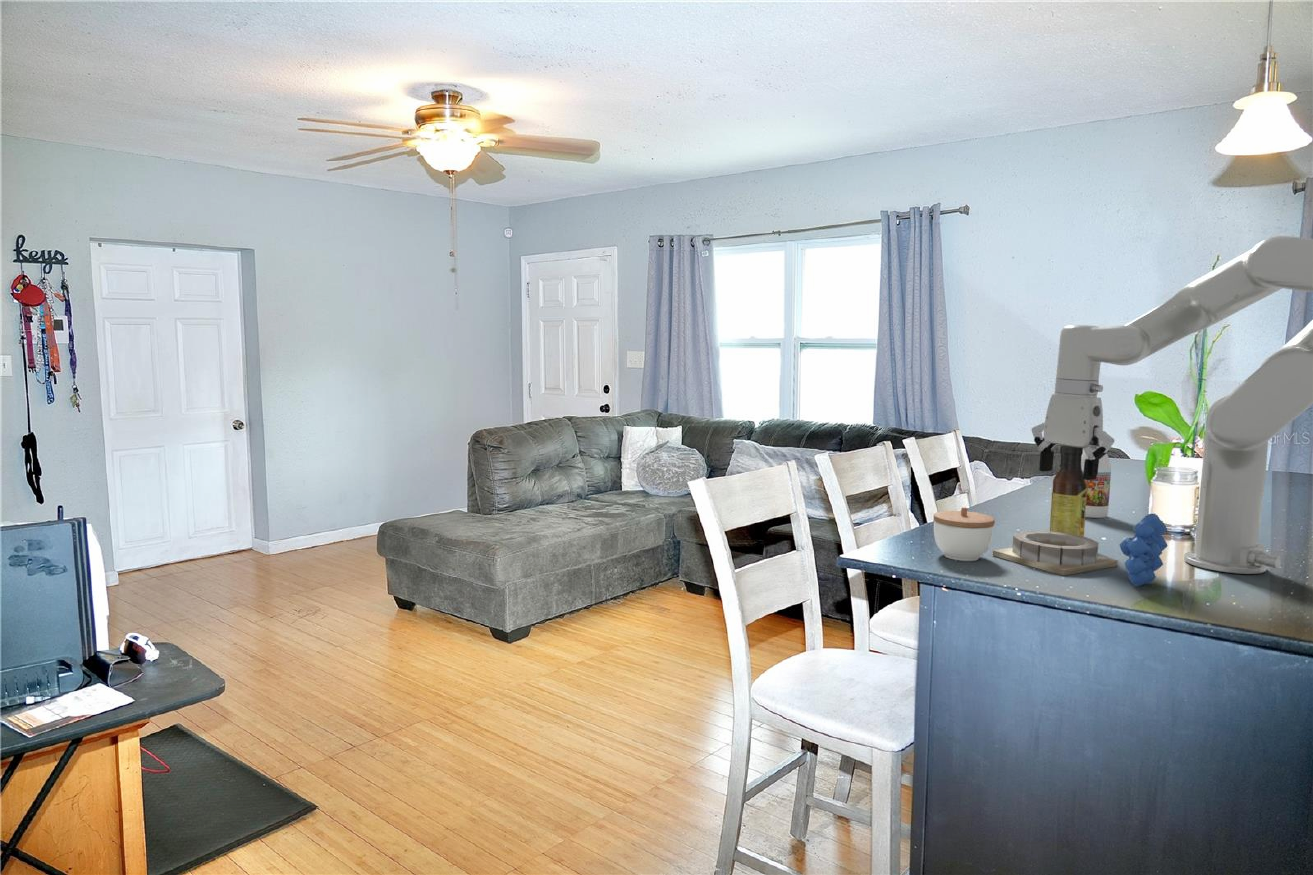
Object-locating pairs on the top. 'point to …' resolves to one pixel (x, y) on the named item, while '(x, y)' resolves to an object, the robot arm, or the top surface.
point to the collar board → (1055, 552)
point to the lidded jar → (963, 534)
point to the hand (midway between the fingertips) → (1067, 475)
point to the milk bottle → (1098, 488)
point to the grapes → (1145, 550)
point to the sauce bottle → (1069, 494)
